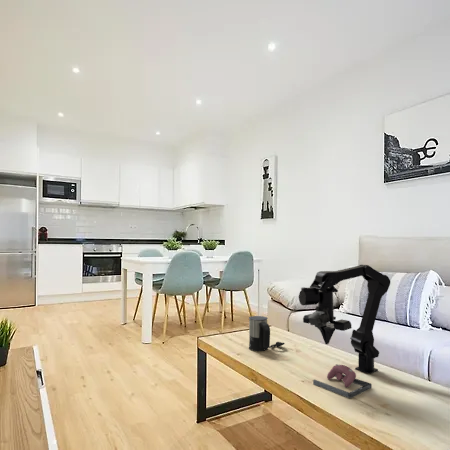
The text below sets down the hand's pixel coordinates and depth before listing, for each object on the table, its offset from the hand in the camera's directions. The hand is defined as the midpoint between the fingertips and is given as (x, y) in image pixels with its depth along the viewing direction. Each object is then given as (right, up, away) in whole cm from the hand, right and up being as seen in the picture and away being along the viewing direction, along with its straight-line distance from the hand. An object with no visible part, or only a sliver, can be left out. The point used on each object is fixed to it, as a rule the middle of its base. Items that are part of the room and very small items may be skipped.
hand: (326, 344), depth 136 cm
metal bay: (+2, -11, -12) cm, 16 cm away
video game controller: (+3, -11, -8) cm, 14 cm away
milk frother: (-20, -13, +32) cm, 40 cm away
